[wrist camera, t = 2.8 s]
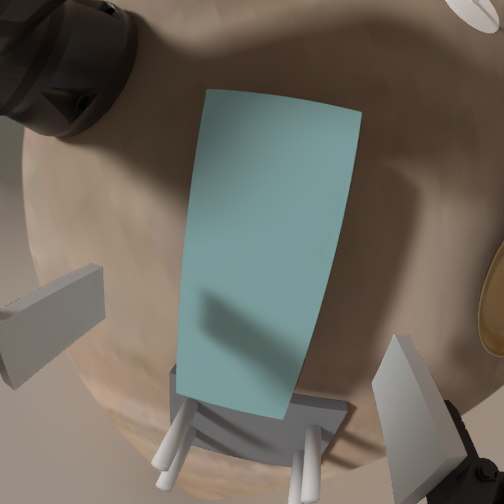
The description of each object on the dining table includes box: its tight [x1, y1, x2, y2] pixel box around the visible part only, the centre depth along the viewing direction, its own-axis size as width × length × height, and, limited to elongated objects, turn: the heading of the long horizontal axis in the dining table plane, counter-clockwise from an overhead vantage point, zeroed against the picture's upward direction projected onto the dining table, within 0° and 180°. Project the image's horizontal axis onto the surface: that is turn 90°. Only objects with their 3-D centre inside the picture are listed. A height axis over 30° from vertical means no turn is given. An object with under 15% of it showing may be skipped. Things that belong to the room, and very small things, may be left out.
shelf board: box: [176, 89, 362, 420], centre depth 17 cm, size 20×8×2 cm, turn 170°
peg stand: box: [151, 364, 348, 504], centre depth 24 cm, size 18×12×10 cm, turn 80°
